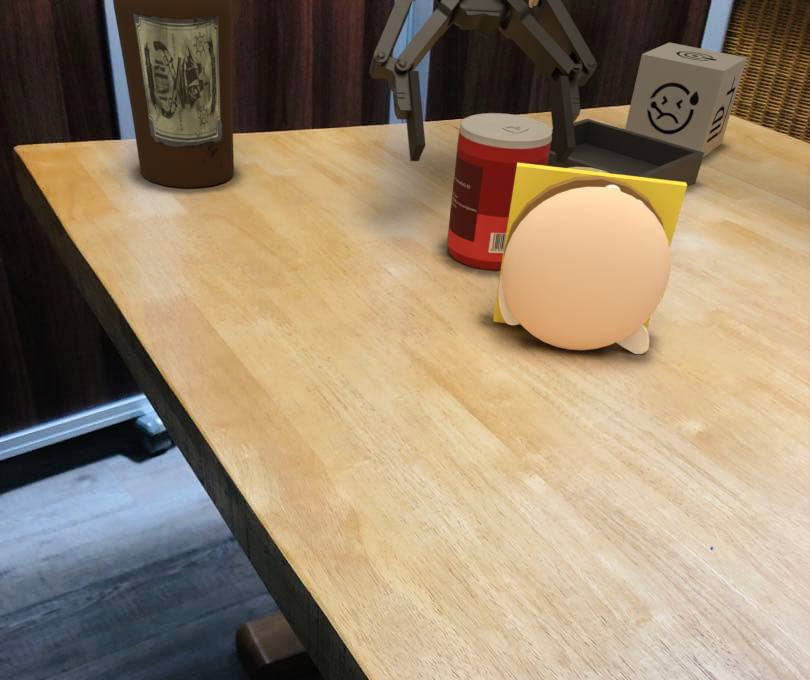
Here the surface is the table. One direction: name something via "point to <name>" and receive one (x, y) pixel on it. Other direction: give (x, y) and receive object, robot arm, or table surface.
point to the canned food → (490, 182)
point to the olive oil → (180, 88)
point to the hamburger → (586, 255)
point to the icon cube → (685, 95)
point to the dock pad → (629, 154)
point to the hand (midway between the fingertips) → (493, 155)
